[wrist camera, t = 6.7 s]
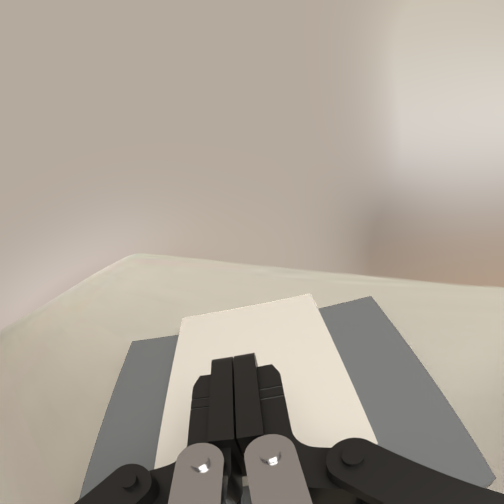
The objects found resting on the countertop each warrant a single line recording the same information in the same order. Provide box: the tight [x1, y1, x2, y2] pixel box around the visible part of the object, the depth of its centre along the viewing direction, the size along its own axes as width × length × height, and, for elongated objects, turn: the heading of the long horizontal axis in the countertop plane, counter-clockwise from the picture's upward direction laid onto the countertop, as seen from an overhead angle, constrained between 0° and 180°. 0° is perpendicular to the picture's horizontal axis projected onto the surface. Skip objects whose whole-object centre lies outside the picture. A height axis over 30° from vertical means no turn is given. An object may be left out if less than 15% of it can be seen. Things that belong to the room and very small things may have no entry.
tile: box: [154, 293, 378, 486], centre depth 18 cm, size 10×2×14 cm
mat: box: [79, 296, 496, 504], centre depth 16 cm, size 20×18×1 cm
